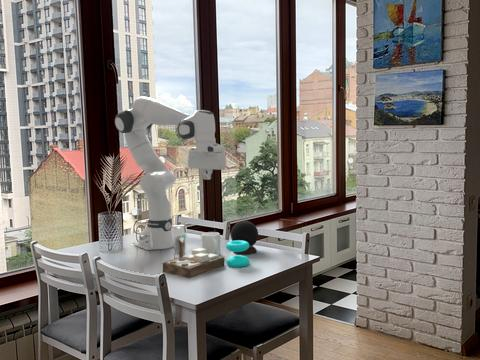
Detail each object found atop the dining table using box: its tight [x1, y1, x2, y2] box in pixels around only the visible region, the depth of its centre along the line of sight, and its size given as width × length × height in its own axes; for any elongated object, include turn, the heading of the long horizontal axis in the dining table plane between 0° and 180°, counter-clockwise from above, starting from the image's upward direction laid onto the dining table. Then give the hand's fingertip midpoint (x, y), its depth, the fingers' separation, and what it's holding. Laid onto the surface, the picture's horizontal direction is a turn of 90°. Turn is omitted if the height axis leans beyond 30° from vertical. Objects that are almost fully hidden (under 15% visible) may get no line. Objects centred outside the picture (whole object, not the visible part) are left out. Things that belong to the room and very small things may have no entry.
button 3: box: [191, 247, 207, 255], centre depth 221 cm, size 4×4×4 cm
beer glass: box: [172, 224, 188, 259], centre depth 231 cm, size 7×7×15 cm
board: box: [161, 255, 226, 279], centre depth 214 cm, size 16×21×4 cm
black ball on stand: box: [230, 220, 259, 256], centre depth 240 cm, size 13×13×15 cm
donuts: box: [225, 240, 250, 268], centre depth 218 cm, size 10×10×10 cm
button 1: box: [182, 253, 194, 260], centre depth 217 cm, size 4×4×4 cm
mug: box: [201, 231, 221, 256], centre depth 233 cm, size 12×8×10 cm
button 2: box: [194, 253, 209, 263], centre depth 212 cm, size 4×4×4 cm
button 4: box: [208, 253, 218, 259], centre depth 217 cm, size 4×4×4 cm
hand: (207, 179), depth 220 cm, fingers closed
